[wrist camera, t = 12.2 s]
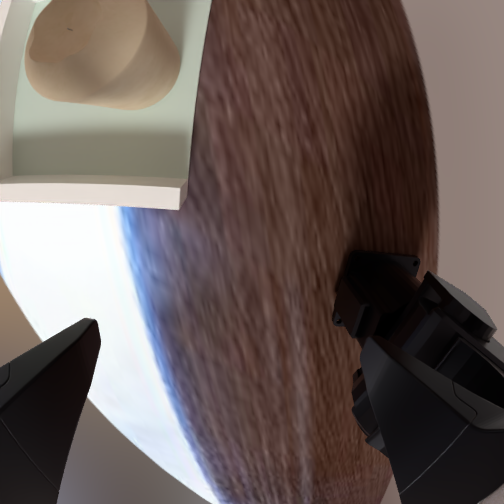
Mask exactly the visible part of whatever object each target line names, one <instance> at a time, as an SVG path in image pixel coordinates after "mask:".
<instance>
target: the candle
mask: <svg viewBox="0 0 504 504" xmlns="http://www.w3.org/2000/svg"><path fill="white" fill-rule="evenodd" d="M24 64H25V71H26V75H27V78H28V80H29V82H30V84H31V86H32V87H33V88H34V89H35V91H36V92H37V93H39V94H40V95H41V96H43V97H45V98H47V99H50V100H53V101H60V102H69V103H78V104H86V105H94V106H101V107H108V108H115V109H121V110H139V109H144V108H147V107H149V106H151V105H154V104H155V103H157V102H159V101H160V100H161V99H163V98H164V97H165V96H166V95H167V94H168V93H169V92H170V90H171V89H172V88H173V86H174V85H175V83H176V81H177V78H178V75H179V71H180V56H179V52H178V49H177V47H176V45H175V43H174V42H173V40H172V38H171V37H170V35H169V34H168V32H167V31H166V29H165V27H164V26H163V24H162V23H161V21H160V20H159V18H158V17H157V15H156V13H155V12H154V10H153V9H152V7H151V6H150V4H149V3H148V1H147V0H51V1H50V2H49V3H48V5H47V6H46V7H45V8H44V9H43V10H42V11H41V12H40V14H39V15H38V17H37V18H36V20H35V22H34V25H33V27H32V29H31V32H30V34H29V37H28V40H27V44H26V48H25V57H24Z"/></svg>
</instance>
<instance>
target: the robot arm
mask: <svg viewBox="0 0 504 504" xmlns="http://www.w3.org/2000/svg"><path fill="white" fill-rule="evenodd" d="M356 255H358V258H357V259H354V258H355V256H356ZM414 261H415V263H414V264H413V262H414ZM419 265H420V259H419V258H418V257H417V256H412V255H403V254H393V253H383V252H373V251H363V250H354V251H352V252H351V253H350V255H349V259H348V263H347V267H346V271H345V275H344V276H343V278H342V279H341V282H340V286H339V289H338V293H337V296H336V300H335V304H334V307H335V311H334V314H333V318H332V321H333V324H334V325H335V326H345V327H346V329H347V331H348V333H349V334H350V336H351V337H352V338H356V339H357V340H358V342H359V344H360V346H361V348H362V351H361V354H360V362H361V366H362V367H361V368H360V369H357V371H356V372H355V373H354V374H353V388H352V396H353V401H354V406H353V407H352V413H353V415H354V417H355V419H356V421H357V423H358V425H359V427H360V428H361V430H362V431H363V432H364V433H365V435H366V436H368V437H367V438H366V439H365V441H366V443H367V444H369V445H371V446H372V447H374V448H376V449H377V450H379V451H380V452H382V453H383V454H384V455H385V456H386V457H388V458H389V461H390V464H391V467H392V471H393V474H394V477H395V481H396V484H397V488H398V492H399V494H400V495H399V496H400V500H401V503H402V504H504V347H503V346H502V345H501V344H500V343H499V342H498V341H497V340H496V339H494V338H493V337H492V336H493V335H494V333H495V332H496V330H497V328H496V326H495V324H494V323H493V321H492V320H491V318H490V316H489V315H488V313H487V312H486V310H485V309H484V308H482V307H481V306H480V305H479V304H478V303H477V302H476V301H474V300H473V299H472V298H471V297H470V296H468V295H467V294H466V293H464V292H463V291H461V290H460V289H458V288H456V287H455V286H453V285H452V284H450V283H448V282H447V281H445V280H444V279H442V278H440V277H439V276H437V275H435V274H434V273H432V272H430V271H429V270H428V271H427V273H426V274H425V276H424V277H423V278H424V280H423V282H422V283H421V282H420V281H419V280H418V279H417V278H416V275H417V272H418V269H419ZM338 319H340V320H339V321H337V320H338ZM100 346H101V338H100V333H99V327H98V323H97V321H96V320H95V319H90V318H84V319H82V320H80V321H78V322H77V323H75V324H73V325H71V326H70V327H68V328H66V329H64V330H63V331H61V332H59V333H58V334H56V335H54V336H52V337H51V338H49V339H47V340H46V341H44V342H42V343H40V344H39V345H37V346H35V347H34V348H32V349H30V350H29V351H27V352H25V353H23V354H22V355H20V356H19V357H17V358H15V359H13V360H12V361H10V363H9V362H8V363H7V364H5V365H3V366H2V367H0V504H56V503H57V499H58V494H59V489H60V485H61V481H62V477H63V473H64V469H65V465H66V462H67V458H68V455H69V451H70V448H71V444H72V441H73V437H74V434H75V431H76V428H77V425H78V421H79V418H80V415H81V412H82V409H83V406H84V403H85V400H86V398H87V395H88V392H89V389H90V386H91V383H92V379H93V375H94V370H95V366H96V362H97V358H98V354H99V350H100Z"/></svg>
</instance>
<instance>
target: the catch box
mask: <svg viewBox="0 0 504 504" xmlns="http://www.w3.org/2000/svg"><path fill="white" fill-rule="evenodd" d="M50 1H51V0H2V2H1V5H0V202H38V203H67V204H90V205H110V206H128V207H144V208H159V209H173V210H179V209H180V207H181V206H182V204H183V202H184V201H185V199H186V197H187V190H188V177H189V165H190V154H191V144H192V134H193V124H194V115H195V107H196V99H197V91H198V84H199V76H200V69H201V62H202V56H203V50H204V43H205V37H206V31H207V26H208V20H209V15H210V9H211V4H212V0H147V1H148V3H149V4H150V6H151V7H152V9H153V10H154V12H155V13H156V15H157V17H158V18H159V20H160V21H161V23H162V24H163V26H164V27H165V29H166V31H167V32H168V34H169V35H170V37H171V38H172V40H173V42H174V43H175V45H176V47H177V49H178V52H179V56H180V71H179V75H178V78H177V81H176V83H175V85H174V86H173V88H172V89H171V90H170V92H169V93H168V94H167V95H166V96H165V97H164V98H163V99H161V100H160V101H159V102H157V103H155V104H154V105H151V106H149V107H147V108H144V109H139V110H121V109H115V108H108V107H101V106H94V105H86V104H78V103H69V102H60V101H53V100H50V99H47V98H45V97H43V96H41V95H40V94H39V93H37V92H36V91H35V89H34V88H33V87H32V86H31V84H30V82H29V80H28V78H27V75H26V71H25V64H24V57H25V48H26V44H27V40H28V37H29V34H30V32H31V29H32V27H33V25H34V22H35V20H36V18H37V17H38V15H39V14H40V12H41V11H42V10H43V9H44V8H45V7H46V6H47V5H48V3H49V2H50Z"/></svg>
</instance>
